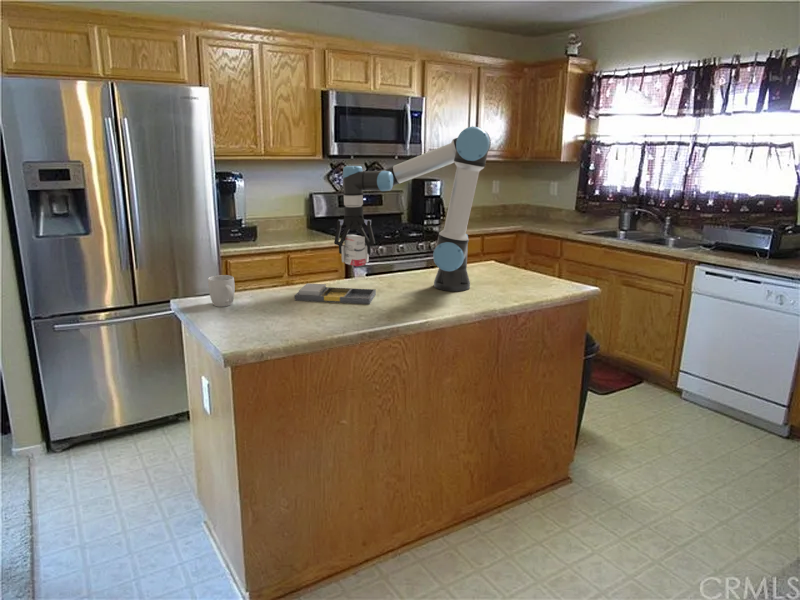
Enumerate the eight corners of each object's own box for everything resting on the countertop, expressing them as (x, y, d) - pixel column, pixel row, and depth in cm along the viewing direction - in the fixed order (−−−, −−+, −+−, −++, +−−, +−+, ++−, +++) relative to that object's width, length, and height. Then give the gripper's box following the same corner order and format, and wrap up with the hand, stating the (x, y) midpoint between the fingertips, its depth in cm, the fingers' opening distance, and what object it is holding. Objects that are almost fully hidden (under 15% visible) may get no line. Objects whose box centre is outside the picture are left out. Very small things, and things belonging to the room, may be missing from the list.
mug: (205, 303, 201) (203, 277, 199) (229, 299, 207) (227, 273, 205) (221, 311, 192) (219, 284, 190) (244, 307, 198) (243, 280, 195)
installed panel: (325, 291, 219) (325, 284, 218) (318, 299, 208) (318, 291, 207) (307, 290, 220) (307, 283, 219) (299, 298, 209) (298, 290, 208)
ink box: (366, 265, 222) (365, 236, 219) (356, 266, 219) (355, 237, 216) (354, 261, 229) (353, 233, 226) (344, 263, 226) (343, 235, 223)
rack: (375, 294, 218) (375, 289, 218) (369, 304, 205) (369, 298, 204) (305, 291, 221) (305, 285, 221) (294, 300, 208) (294, 294, 207)
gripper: (382, 205, 220) (383, 260, 226) (329, 204, 223) (331, 259, 229) (379, 207, 213) (380, 264, 219) (324, 206, 215) (326, 263, 221)
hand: (355, 261), depth 224 cm, fingers closed on ink box, 9 cm apart
